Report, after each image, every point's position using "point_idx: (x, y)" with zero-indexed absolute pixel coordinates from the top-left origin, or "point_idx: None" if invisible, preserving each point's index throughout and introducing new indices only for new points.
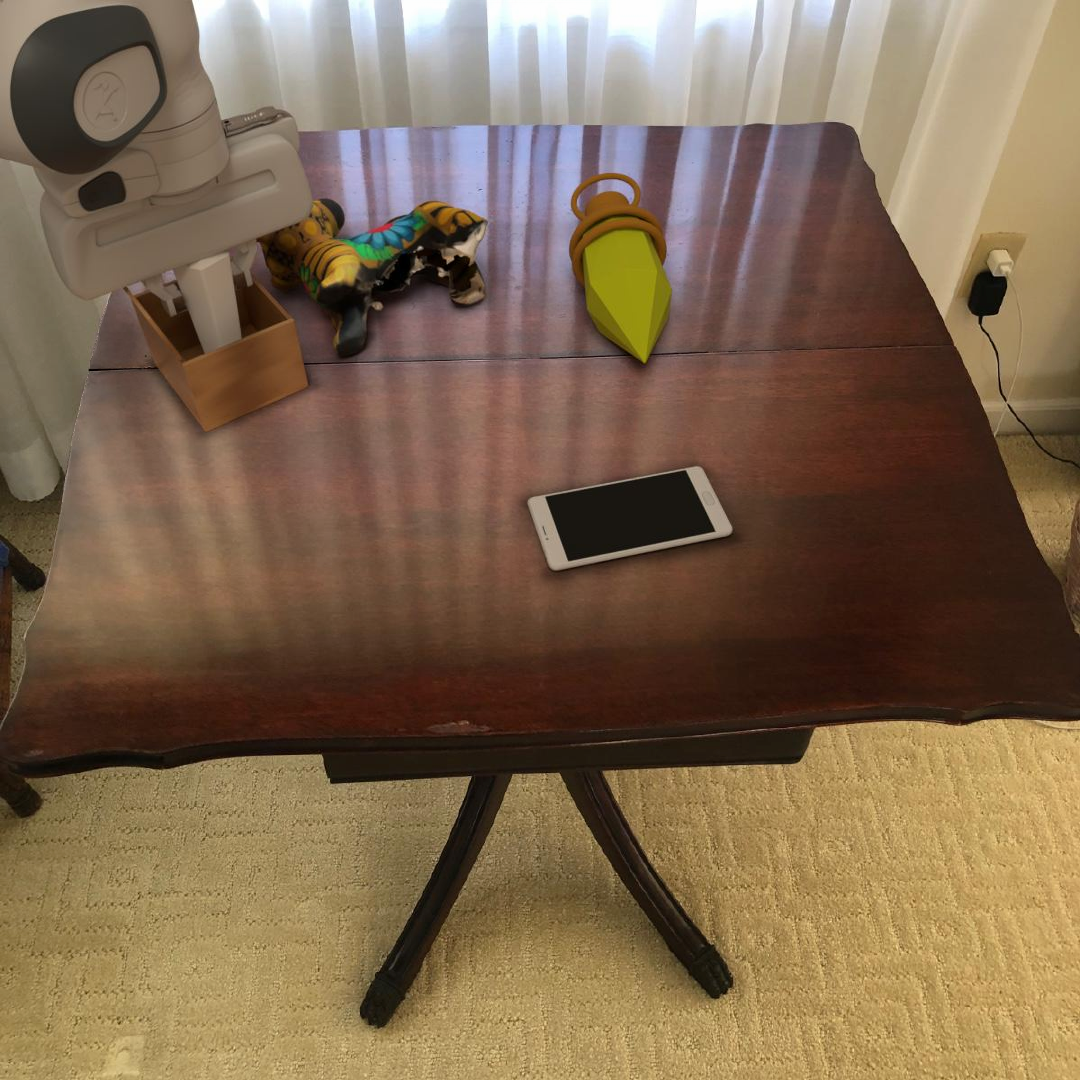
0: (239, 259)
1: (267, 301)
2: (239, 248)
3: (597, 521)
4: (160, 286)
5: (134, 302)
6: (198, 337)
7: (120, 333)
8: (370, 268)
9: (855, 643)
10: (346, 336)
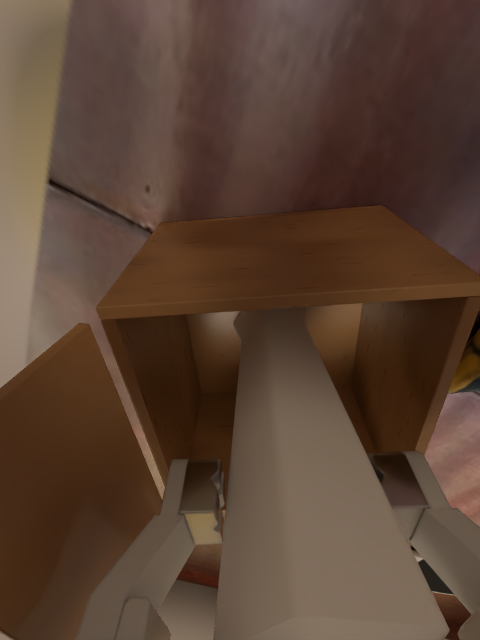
0: (439, 553)
1: (408, 433)
2: (466, 635)
3: (430, 577)
4: (163, 581)
5: None
6: (237, 385)
7: (99, 59)
8: None
9: (456, 624)
10: (467, 391)
